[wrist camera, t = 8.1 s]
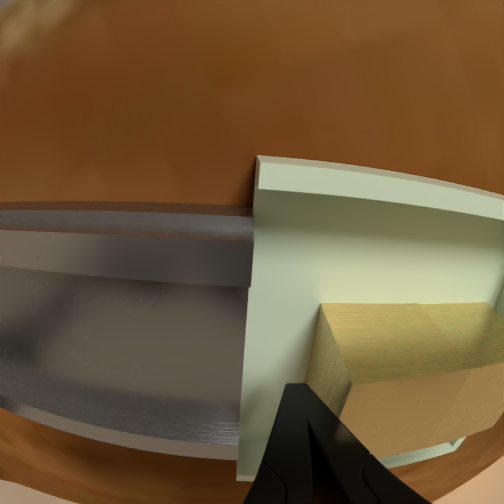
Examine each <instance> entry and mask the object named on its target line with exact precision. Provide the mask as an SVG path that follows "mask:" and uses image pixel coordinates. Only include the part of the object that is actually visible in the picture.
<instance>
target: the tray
mask: <svg viewBox="0 0 504 504" xmlns="http://www.w3.org/2000/svg"><path fill="white" fill-rule="evenodd" d="M253 213H254V223H253V233H254V252H253V265H252V279H251V287H249V293H248V307H247V321H246V335H245V349H244V363H243V377H242V391H241V405H240V419H239V451H238V460H237V471H236V481H254V479H255V477H256V474H257V472H258V469H259V466H260V464H261V460H262V457H263V454H264V451H265V448H266V445H267V442H268V439H269V436H270V433H271V430H272V426H273V423H274V420H275V417H276V413H277V410H278V407H279V404H280V400H281V397H282V393H283V390H284V387H285V384H286V383H304V380H305V375H306V371H307V366H308V362H309V357H310V353H311V348H312V343H313V338H314V334H315V329H316V323H317V318H318V313H319V308H320V303H361V304H393V303H419V304H445V303H473V302H487V303H488V304H489V305H490V306H491V307H492V308H493V309H495V310H496V311H497V312H498V313H499V314H500V315H501V316H502V317H503V318H504V195H500V194H497V193H493V192H489V191H485V190H481V189H477V188H473V187H468V186H464V185H460V184H455V183H451V182H446V181H441V180H437V179H432V178H427V177H422V176H416V175H411V174H405V173H400V172H394V171H388V170H382V169H375V168H369V167H362V166H355V165H348V164H340V163H332V162H324V161H315V160H305V159H295V158H284V157H272V156H259V155H257V158H256V172H255V186H254V200H253ZM464 439H465V437H463V438H460V439H457V440H453V441H450V442H447V443H444V444H440V445H436V446H433V447H429V448H425V449H419V450H415V451H411V452H406V453H402V454H397V455H392V456H387V457H382V458H377V459H378V460H379V461H380V462H381V463H382V464H383V465H384V466H385V467H386V468H387V469H388V468H393V467H397V466H402V465H406V464H410V463H414V462H418V461H422V460H426V459H429V458H433V457H436V456H440V455H443V454H446V453H449V452H453V451H455V450H456V449H457V448H458V446H459V445H460V444H461V443H462V441H463V440H464Z"/></svg>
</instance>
